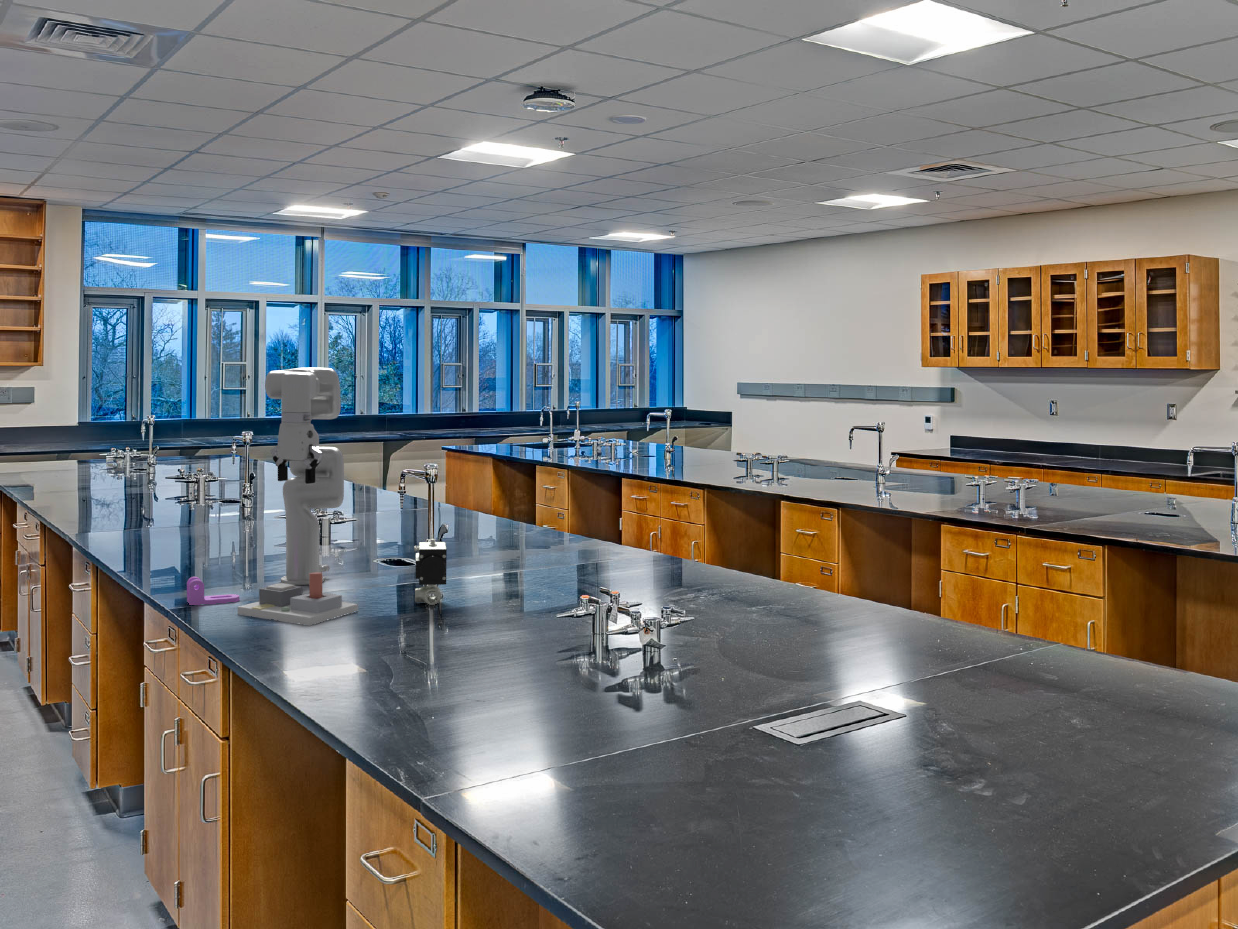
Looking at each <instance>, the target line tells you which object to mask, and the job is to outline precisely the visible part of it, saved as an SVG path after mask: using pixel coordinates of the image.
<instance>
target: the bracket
mask: <svg viewBox="0 0 1238 929" xmlns="http://www.w3.org/2000/svg"><path fill="white" fill-rule="evenodd" d="M239 601H240V595H239V594H235V593H234V594H233V593H231V594H230V593H228V594H217V595H214V594H213V595H205V584H204V582H203V581H202V579H201V578H199V577H198V576H191V577H190V578H188V579H187V582H186V602H188V603H189V605H198V606H201V605H200V604H210V605H217V604H216V603H222V604H228V603H227V602H234V603H238V602H239ZM188 603H187V604H188ZM189 605H188V606H189Z"/></svg>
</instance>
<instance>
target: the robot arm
mask: <svg viewBox="0 0 1238 929" xmlns="http://www.w3.org/2000/svg"><path fill="white" fill-rule="evenodd" d="M264 389H265V394H266V395H267V397H268V399H269V398H270V399H274V400H280V402H281V423H280V424H279V430H278V436H277V445H276V446H274V447H272V448H271V449H270V454H271V457H272V460H273V462H274V463H275V467H277V481H278V482H284V483H283V486H282V497H283V503H284V512H285V547H286V548H285V555H286V557H285V559H286V560H285V563H286V564H285V570H286V573H285V575H284V576H282V577H281V578H280V583H284V584H292V585H295V586H309V573H314V572H320V573H322V574H323V573H324V572H328V571H330V565H328V564H324V565H322V564H320V524H319V520H318V518H317V517H316V515H315V514H314V513H313V512H312V511H311V510H315V509H338V508H340V507H341V506H342V504H343V502H344V495H345V461H344V460H345V459H344V456H343V453H342V451H341V450H340V449H339V448H338V447H335V446H320V436H319V433H318V432H317V430H316V429H315V426H314V424H313V423H311V421H312V420H334V419H337V418H338V417H339V415H340V413H341V407H342V406H341V403H342V402H341V386H340V379H339V375H338V374H337V371H335V369H333V368H330V367H301V366H300V367H297V368H290V369H289V368H288V369H282V370H280V369H278V370H271V371H269V372H268V373H267V374H266V376H265V381H264ZM288 462H289V463H288ZM287 463H288V464H289V466H288V465H287ZM289 470H290V471H289ZM289 472H290V473H291V474H292V476H294V477H291V478H290V477H289ZM325 578H326V577H325V576H324V575H322V583H323V582H325Z"/></svg>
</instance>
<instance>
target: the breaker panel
mask: <svg viewBox="0 0 1238 929" xmlns="http://www.w3.org/2000/svg"><path fill="white" fill-rule="evenodd" d="M258 599H259V600H258V601H255V602H251V603H248V604H242V605H239V606H237V615H240V616H246V617H251V616H252V617H254V618H258V619H265V620H271V619H274V620H273V621H277V620H279V622H284V623H290V624H296V623H300V624H299V625H302V624H305V625H304V626H309V625H310V626H313V625H312V624H314V625H316V624H315V623H317V624H320V622H321V623H324V622H326V621H325V620H327V619H331V620H333V619H332V618H334V617H337V616H341V615H344V614H347V613H351V614H353V613H352V612H354V611H357V610H358V611H359V609H358V608H359V606H358V605H359V604H358V603H353V602H347V601H346V602H345V601H343V600H342V599H343V595H341V594H334V593H328V592H322V598H319V599H314V598H310V597H309V593H305V594H303V586H300V585H295V588H291V589H287V590H283V591H279V590H272V589H267V586H266V587H260V588H259V589H258ZM341 617H342V616H341ZM334 619H335V618H334ZM323 621H324V622H323ZM327 621H328V620H327Z"/></svg>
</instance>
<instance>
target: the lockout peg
mask: <svg viewBox="0 0 1238 929" xmlns="http://www.w3.org/2000/svg"><path fill="white" fill-rule="evenodd" d="M322 576H323V572H322V573H320V572H314V573H309V585H308V586H309V588H308V589H309V591H308V592H309V597H310V598H314V599H319V598H322V593H323V582H322Z"/></svg>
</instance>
